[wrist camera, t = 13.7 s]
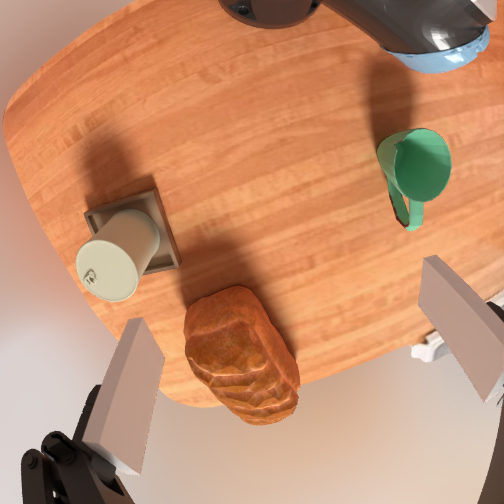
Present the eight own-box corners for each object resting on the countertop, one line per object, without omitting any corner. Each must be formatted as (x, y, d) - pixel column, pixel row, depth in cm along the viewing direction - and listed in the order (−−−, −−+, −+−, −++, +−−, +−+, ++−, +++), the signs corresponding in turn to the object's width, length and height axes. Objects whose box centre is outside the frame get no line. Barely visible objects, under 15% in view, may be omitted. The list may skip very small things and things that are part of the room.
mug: (361, 121, 38) (393, 126, 29) (415, 124, 38) (453, 131, 29) (361, 213, 44) (388, 239, 35) (412, 210, 44) (444, 233, 35)
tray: (89, 209, 42) (83, 213, 40) (156, 187, 41) (153, 191, 39) (116, 275, 48) (112, 281, 46) (181, 261, 47) (179, 267, 45)
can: (97, 224, 43) (61, 258, 32) (140, 198, 41) (109, 228, 30) (126, 269, 46) (100, 312, 36) (170, 248, 45) (151, 290, 34)
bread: (248, 275, 49) (252, 340, 35) (302, 367, 60) (314, 425, 46) (178, 305, 51) (162, 369, 37) (244, 386, 62) (246, 443, 48)
